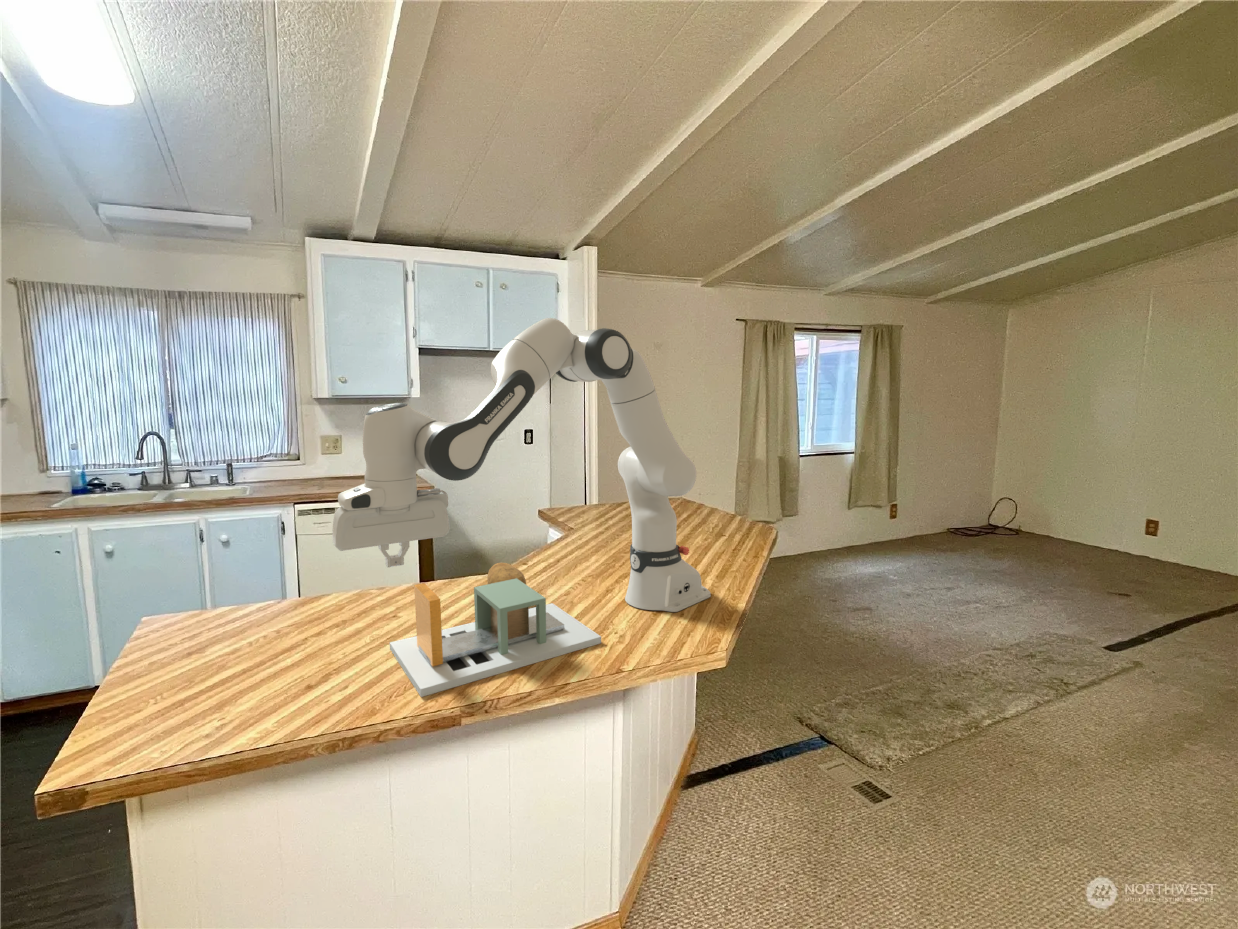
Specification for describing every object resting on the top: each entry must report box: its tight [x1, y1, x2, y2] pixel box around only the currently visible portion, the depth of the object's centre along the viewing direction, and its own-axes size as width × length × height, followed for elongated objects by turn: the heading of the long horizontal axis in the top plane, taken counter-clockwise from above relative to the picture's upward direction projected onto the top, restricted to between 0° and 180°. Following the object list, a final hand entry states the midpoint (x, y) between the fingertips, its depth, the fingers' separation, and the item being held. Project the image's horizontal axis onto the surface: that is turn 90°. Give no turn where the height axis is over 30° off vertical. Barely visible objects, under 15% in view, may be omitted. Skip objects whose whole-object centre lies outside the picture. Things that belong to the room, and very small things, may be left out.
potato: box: [486, 562, 527, 585], centre depth 151 cm, size 10×14×8 cm
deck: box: [389, 603, 602, 698], centre depth 125 cm, size 38×22×2 cm, turn 124°
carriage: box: [413, 582, 565, 667], centre depth 123 cm, size 29×10×13 cm, turn 124°
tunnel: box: [473, 578, 547, 655], centre depth 125 cm, size 10×14×10 cm
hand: (394, 565), depth 110 cm, fingers closed
